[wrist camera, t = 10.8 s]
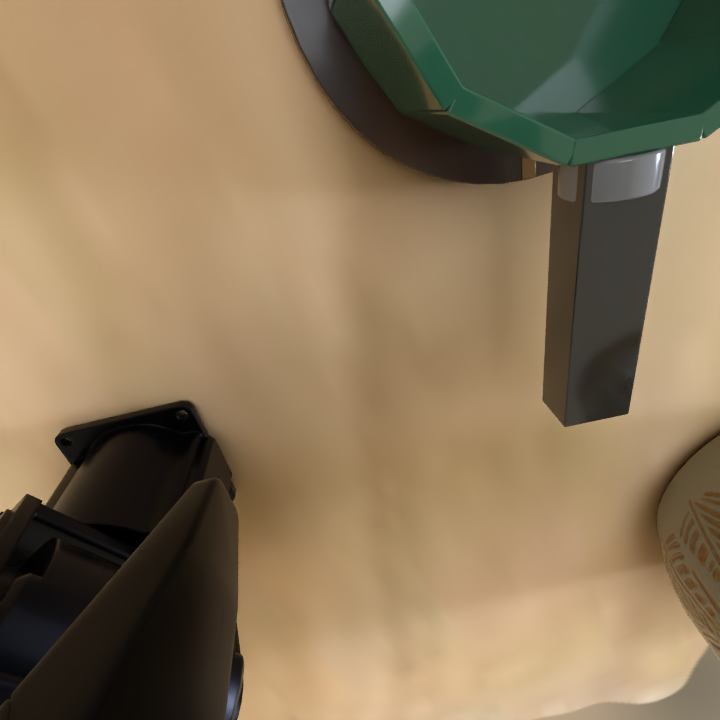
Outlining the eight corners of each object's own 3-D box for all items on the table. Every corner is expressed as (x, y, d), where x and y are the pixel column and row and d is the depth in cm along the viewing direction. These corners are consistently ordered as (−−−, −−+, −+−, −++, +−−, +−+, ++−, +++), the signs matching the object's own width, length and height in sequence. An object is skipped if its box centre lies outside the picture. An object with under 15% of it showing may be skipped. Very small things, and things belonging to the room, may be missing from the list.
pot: (232, -561, 9) (115, -1683, 3) (836, -675, 9) (1694, -1943, 3) (388, 369, 20) (420, 467, 14) (654, 314, 20) (786, 390, 14)
